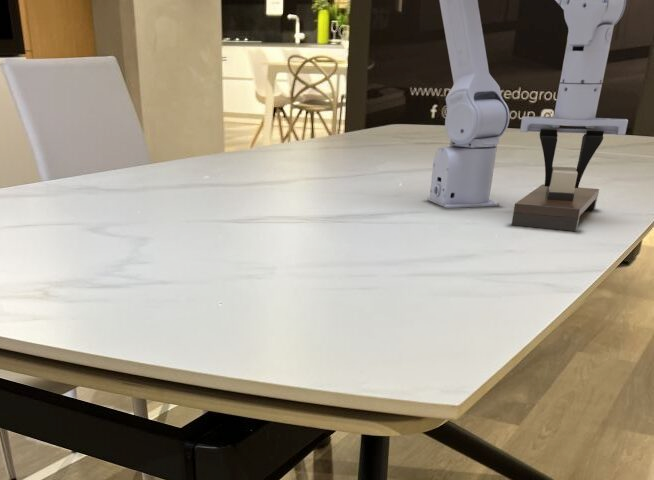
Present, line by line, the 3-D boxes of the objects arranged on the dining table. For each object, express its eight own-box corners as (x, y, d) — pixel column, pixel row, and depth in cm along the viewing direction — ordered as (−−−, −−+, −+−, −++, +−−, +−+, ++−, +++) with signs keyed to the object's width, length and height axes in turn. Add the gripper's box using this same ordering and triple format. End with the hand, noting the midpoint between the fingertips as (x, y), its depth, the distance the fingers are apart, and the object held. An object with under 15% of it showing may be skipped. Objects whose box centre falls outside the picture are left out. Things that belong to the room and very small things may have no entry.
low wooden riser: (575, 231, 105) (579, 209, 103) (511, 225, 109) (514, 203, 107) (595, 208, 120) (599, 188, 119) (538, 203, 124) (541, 184, 122)
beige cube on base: (573, 200, 109) (578, 172, 107) (547, 199, 110) (552, 171, 108) (570, 192, 116) (575, 165, 114) (546, 191, 116) (551, 164, 115)
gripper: (632, 83, 107) (609, 184, 114) (527, 81, 110) (512, 180, 117) (638, 85, 101) (614, 191, 108) (527, 83, 104) (511, 186, 111)
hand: (561, 186), depth 112 cm, fingers closed on beige cube on base, 3 cm apart
